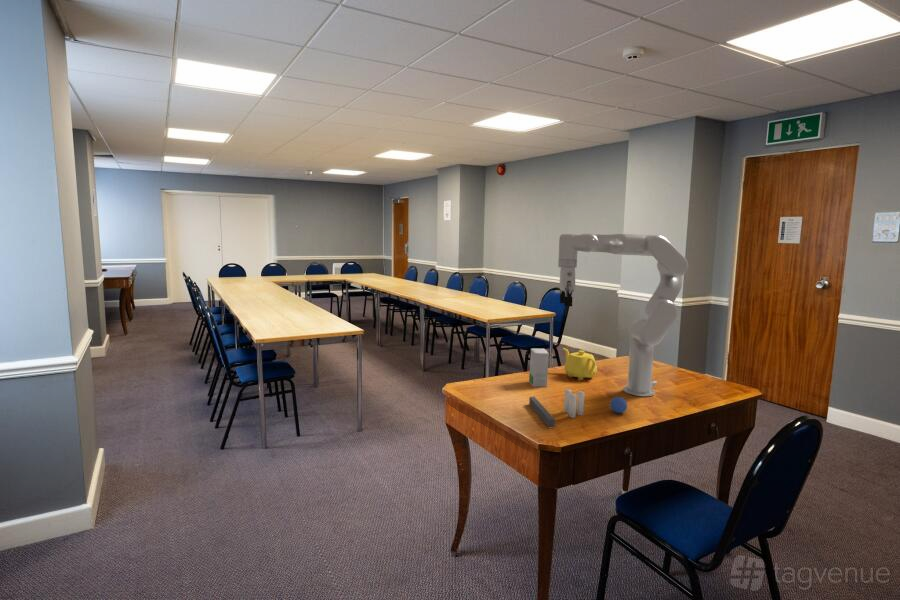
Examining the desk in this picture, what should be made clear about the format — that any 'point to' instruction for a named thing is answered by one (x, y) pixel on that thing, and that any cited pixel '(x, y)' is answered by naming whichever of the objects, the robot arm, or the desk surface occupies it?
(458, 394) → the desk surface
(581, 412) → the front pin
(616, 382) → the desk surface
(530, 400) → the bar
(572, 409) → the back left pin
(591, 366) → the teapot
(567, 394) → the back right pin
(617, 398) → the ball
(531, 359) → the skincare box
